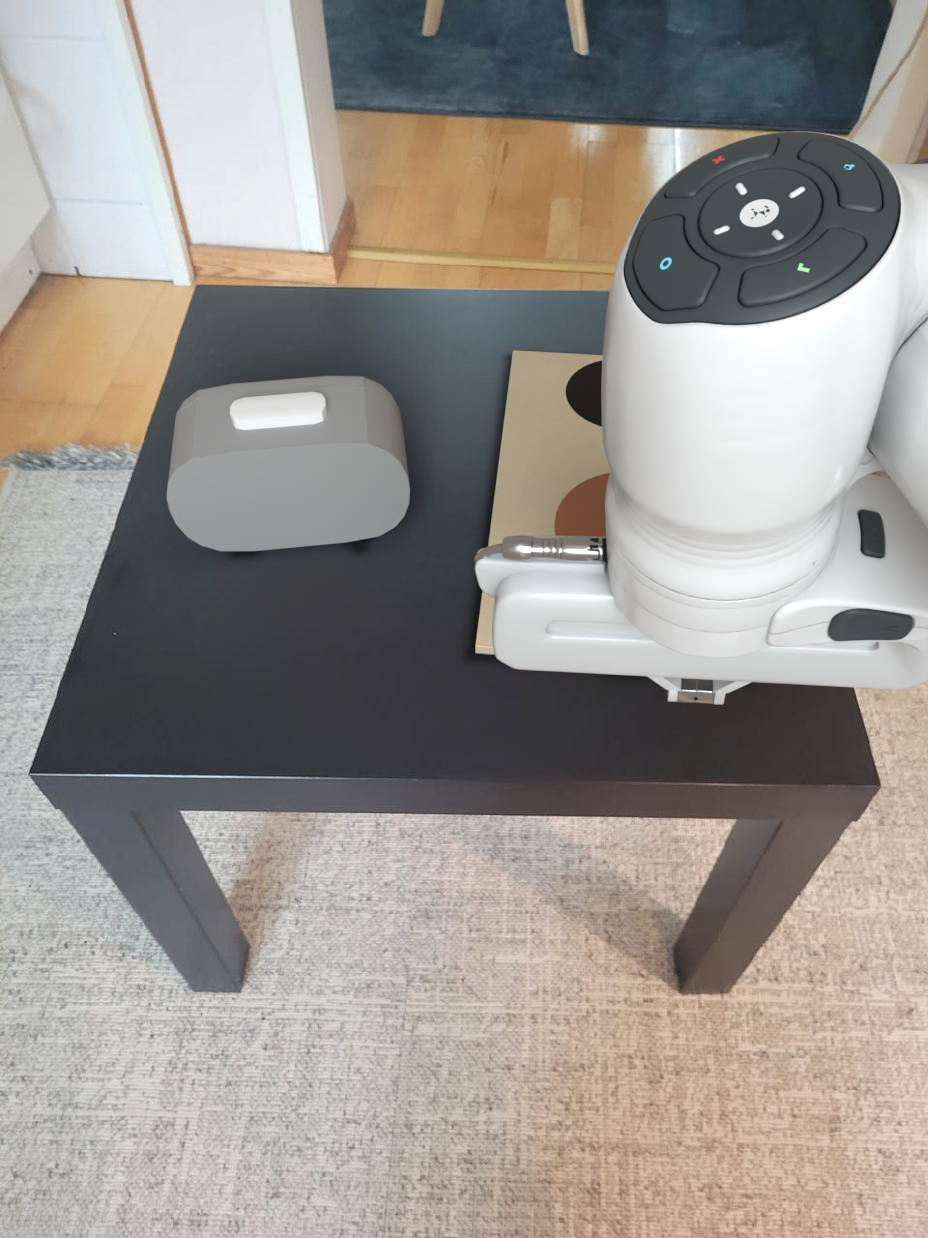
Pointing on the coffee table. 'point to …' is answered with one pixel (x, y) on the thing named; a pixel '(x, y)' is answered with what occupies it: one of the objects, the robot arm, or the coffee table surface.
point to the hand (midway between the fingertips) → (695, 690)
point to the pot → (583, 509)
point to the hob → (539, 455)
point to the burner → (586, 392)
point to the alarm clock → (288, 464)
